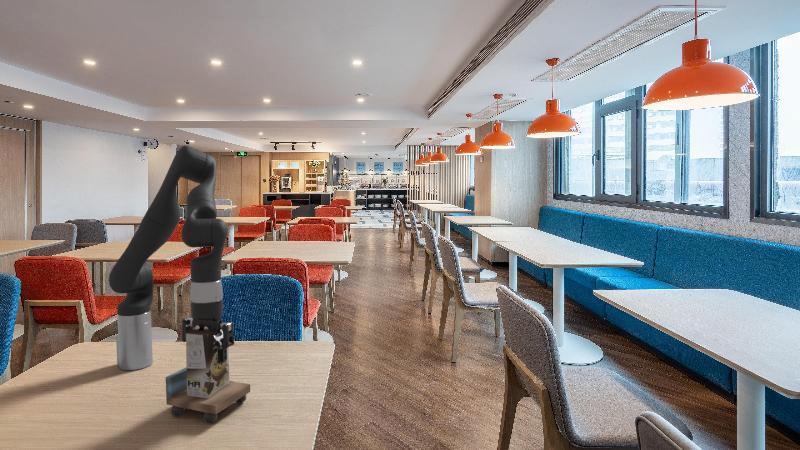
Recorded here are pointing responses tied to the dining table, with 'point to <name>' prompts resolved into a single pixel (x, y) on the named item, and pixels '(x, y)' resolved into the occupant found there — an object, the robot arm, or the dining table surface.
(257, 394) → the dining table surface
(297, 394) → the dining table surface
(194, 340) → the coffee box
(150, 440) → the dining table surface
